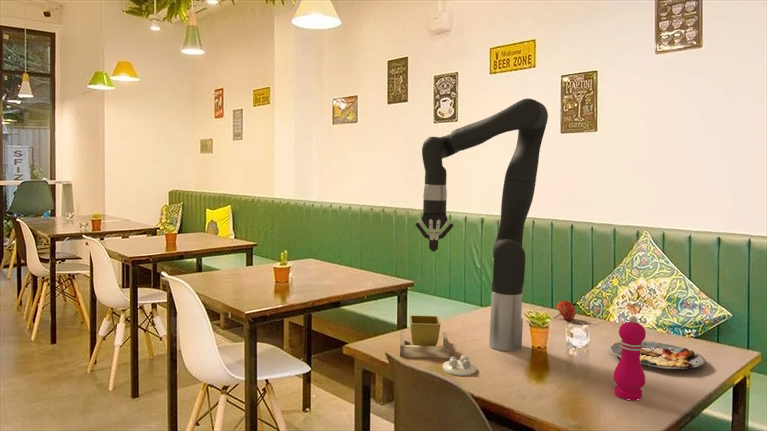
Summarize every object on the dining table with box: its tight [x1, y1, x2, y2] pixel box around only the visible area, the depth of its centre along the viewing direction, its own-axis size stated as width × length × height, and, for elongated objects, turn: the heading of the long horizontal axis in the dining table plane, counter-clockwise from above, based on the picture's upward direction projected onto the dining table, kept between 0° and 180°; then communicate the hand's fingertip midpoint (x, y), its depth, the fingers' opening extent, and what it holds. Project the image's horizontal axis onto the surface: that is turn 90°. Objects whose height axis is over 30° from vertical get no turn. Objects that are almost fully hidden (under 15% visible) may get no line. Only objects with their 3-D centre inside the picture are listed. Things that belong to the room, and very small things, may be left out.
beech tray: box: [399, 330, 451, 359], centre depth 173 cm, size 14×15×3 cm
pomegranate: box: [553, 299, 578, 321], centre depth 209 cm, size 7×7×10 cm
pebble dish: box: [442, 354, 477, 377], centre depth 156 cm, size 9×9×3 cm
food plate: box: [609, 340, 707, 371], centre depth 168 cm, size 25×23×4 cm
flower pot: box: [409, 315, 441, 346], centre depth 172 cm, size 9×9×9 cm
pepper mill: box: [612, 315, 647, 401], centre depth 140 cm, size 7×7×20 cm
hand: (433, 251), depth 189 cm, fingers closed
